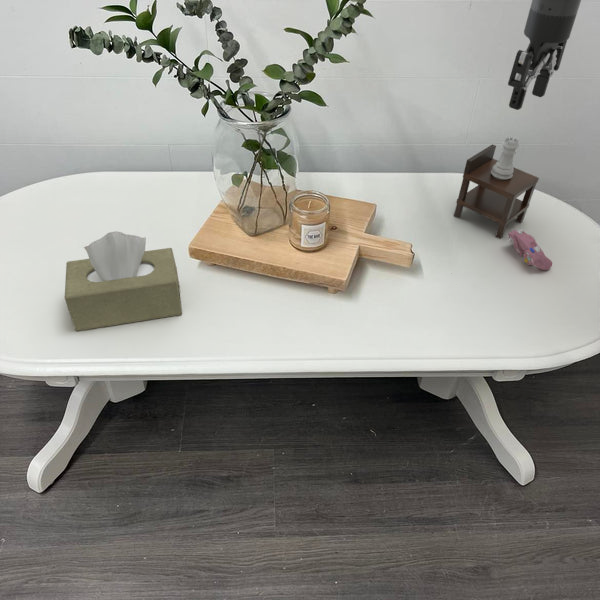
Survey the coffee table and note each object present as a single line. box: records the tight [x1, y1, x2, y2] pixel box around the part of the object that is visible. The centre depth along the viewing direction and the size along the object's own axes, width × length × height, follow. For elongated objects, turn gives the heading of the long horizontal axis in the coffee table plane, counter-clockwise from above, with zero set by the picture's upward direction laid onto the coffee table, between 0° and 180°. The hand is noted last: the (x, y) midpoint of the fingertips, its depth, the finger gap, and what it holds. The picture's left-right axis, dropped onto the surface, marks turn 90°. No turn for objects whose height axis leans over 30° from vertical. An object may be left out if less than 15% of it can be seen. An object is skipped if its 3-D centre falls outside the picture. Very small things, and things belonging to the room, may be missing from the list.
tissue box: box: [64, 230, 183, 332], centre depth 99 cm, size 19×10×16 cm, turn 105°
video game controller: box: [507, 228, 553, 271], centre depth 115 cm, size 10×5×7 cm, turn 17°
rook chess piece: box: [491, 136, 520, 180], centre depth 117 cm, size 4×4×8 cm
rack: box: [453, 143, 540, 240], centre depth 123 cm, size 12×10×14 cm
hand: (526, 101), depth 107 cm, fingers open, 8 cm apart
